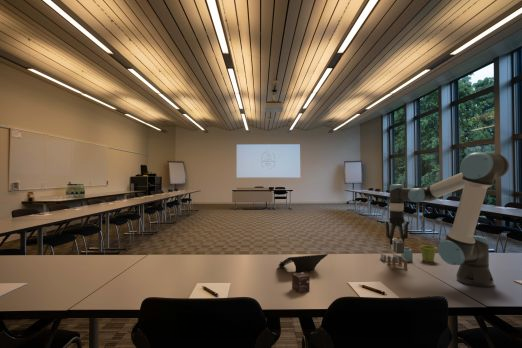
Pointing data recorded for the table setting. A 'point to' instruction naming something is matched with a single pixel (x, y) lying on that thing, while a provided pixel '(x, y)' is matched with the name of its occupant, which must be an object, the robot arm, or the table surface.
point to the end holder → (391, 258)
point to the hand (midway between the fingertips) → (396, 250)
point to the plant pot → (428, 253)
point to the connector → (407, 255)
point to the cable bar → (398, 246)
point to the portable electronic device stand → (304, 262)
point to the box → (300, 282)
